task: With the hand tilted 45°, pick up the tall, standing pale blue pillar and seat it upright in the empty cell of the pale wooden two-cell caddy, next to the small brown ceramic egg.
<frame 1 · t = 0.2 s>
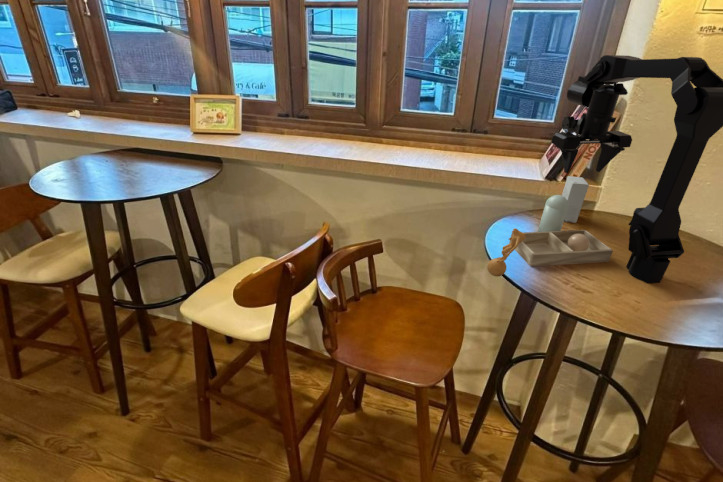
hand: (581, 172, 107), 15 cm above the table, tool pointing down, fingers open, 9 cm apart
figurine: (499, 276, 89), on the table
skincare box: (565, 220, 115), on the table
caddy: (556, 255, 97), on the table
brown egg: (575, 251, 98), point 1 cm above the table, touching caddy
pale blue pillar: (547, 236, 106), on the table
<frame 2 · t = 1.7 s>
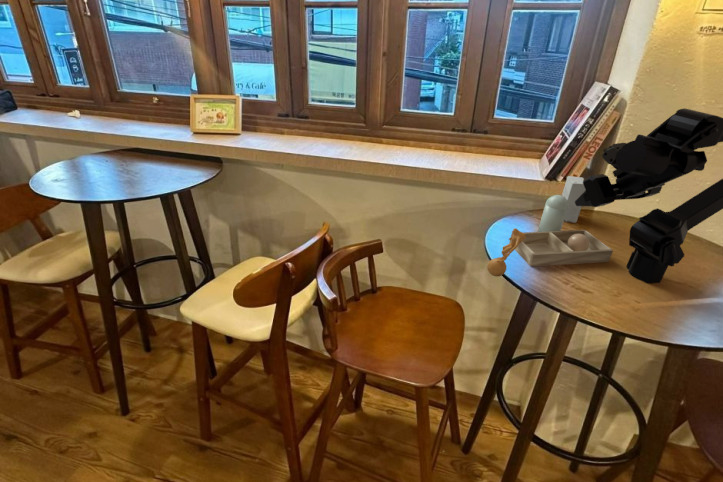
hand: (590, 201, 93), 14 cm above the table, tool tilted 45°, fingers open, 9 cm apart
nothing on the table moved.
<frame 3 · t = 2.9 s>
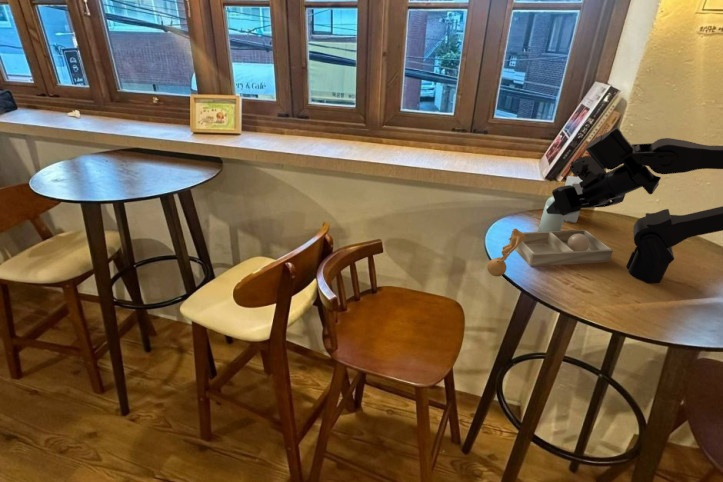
hand: (560, 208, 100), 9 cm above the table, tool tilted 45°, fingers open, 9 cm apart
nothing on the table moved.
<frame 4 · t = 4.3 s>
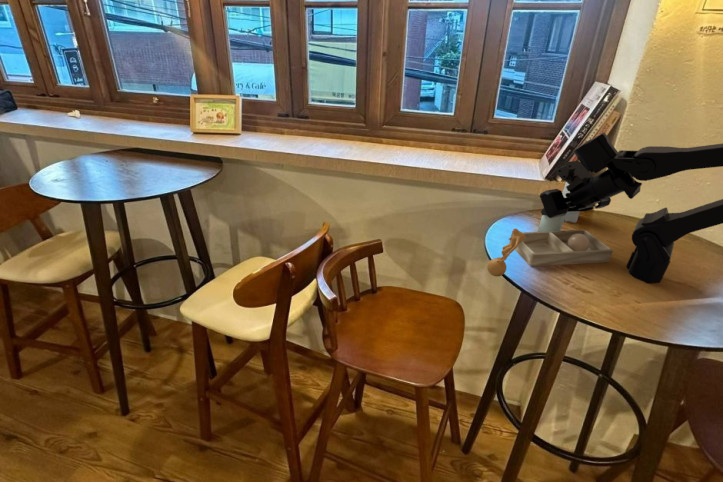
hand: (549, 211, 103), 7 cm above the table, tool tilted 45°, fingers closed on pale blue pillar, 5 cm apart
pale blue pillar: (547, 236, 106), on the table, touching gripper
everything else where it was.
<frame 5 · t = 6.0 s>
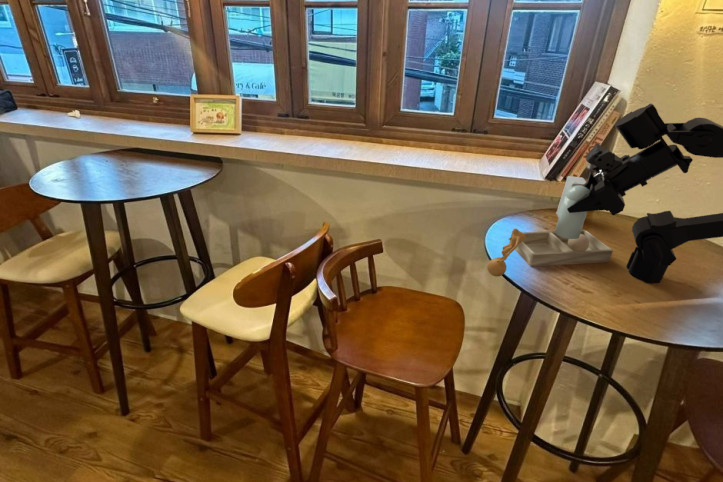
hand: (568, 206, 90), 13 cm above the table, tool tilted 45°, fingers closed on pale blue pillar, 5 cm apart
pale blue pillar: (567, 233, 93), point 7 cm above the table, touching gripper
everything else where it was.
when the fingers open (9 cm above the table, at t = 7.8 s): pale blue pillar drops 1 cm, resting on caddy.
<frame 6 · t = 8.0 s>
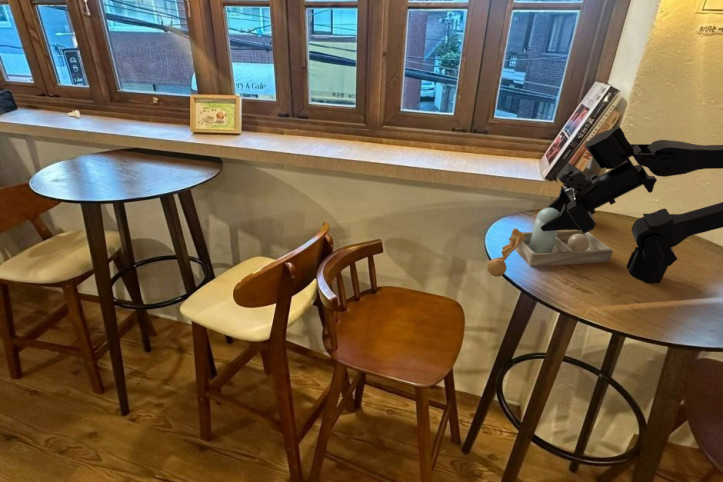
hand: (541, 222, 93), 9 cm above the table, tool tilted 45°, fingers open, 7 cm apart
pale blue pillar: (539, 253, 96), point 1 cm above the table, touching caddy
everything else where it was.
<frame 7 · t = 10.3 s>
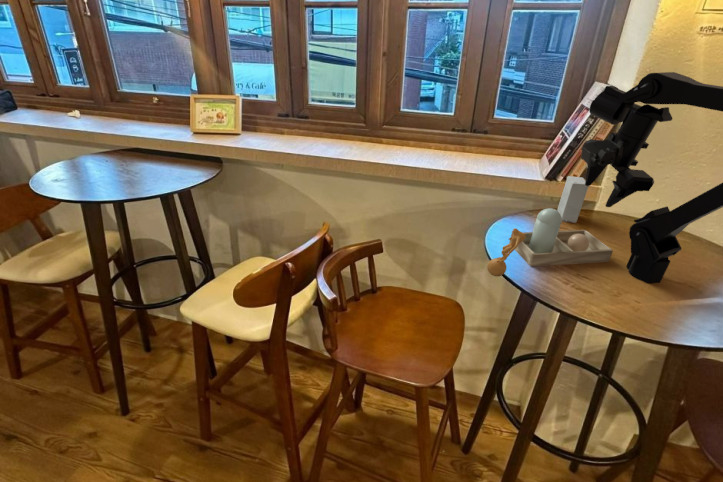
hand: (596, 195, 95), 14 cm above the table, tool pointing down, fingers open, 9 cm apart
nothing on the table moved.
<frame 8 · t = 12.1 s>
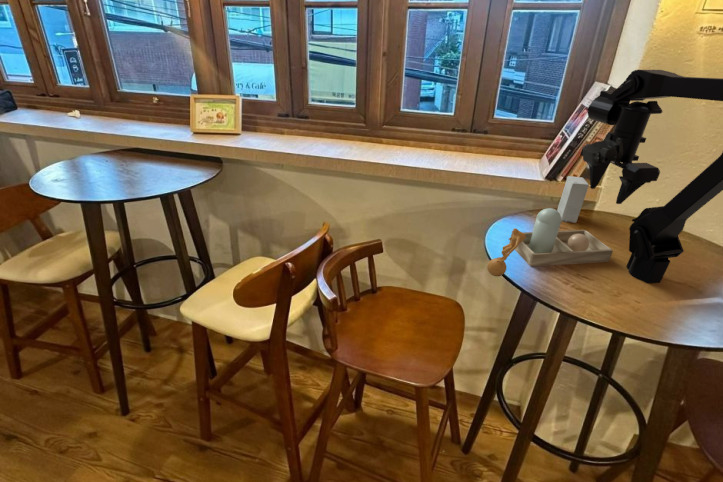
hand: (604, 195, 97), 13 cm above the table, tool pointing down, fingers open, 9 cm apart
nothing on the table moved.
at the end: pale blue pillar 0.0 cm from the target spot on the caddy, point 0.8 cm above the caddy's base; pale blue pillar tilted 1°; brown egg moved 0.0 cm from its start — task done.
